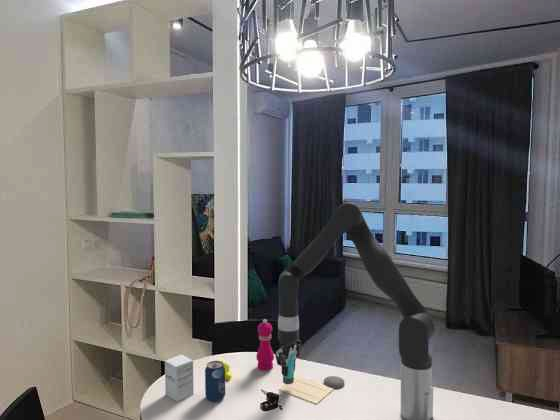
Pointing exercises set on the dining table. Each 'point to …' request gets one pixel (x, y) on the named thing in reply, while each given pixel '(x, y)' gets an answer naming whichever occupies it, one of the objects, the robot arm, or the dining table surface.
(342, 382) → the coaster
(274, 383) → the dining table surface
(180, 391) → the supplement box
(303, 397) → the wooden board
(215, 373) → the soda can
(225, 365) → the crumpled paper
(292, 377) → the teal cylinder
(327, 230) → the robot arm
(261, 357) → the pepper mill
